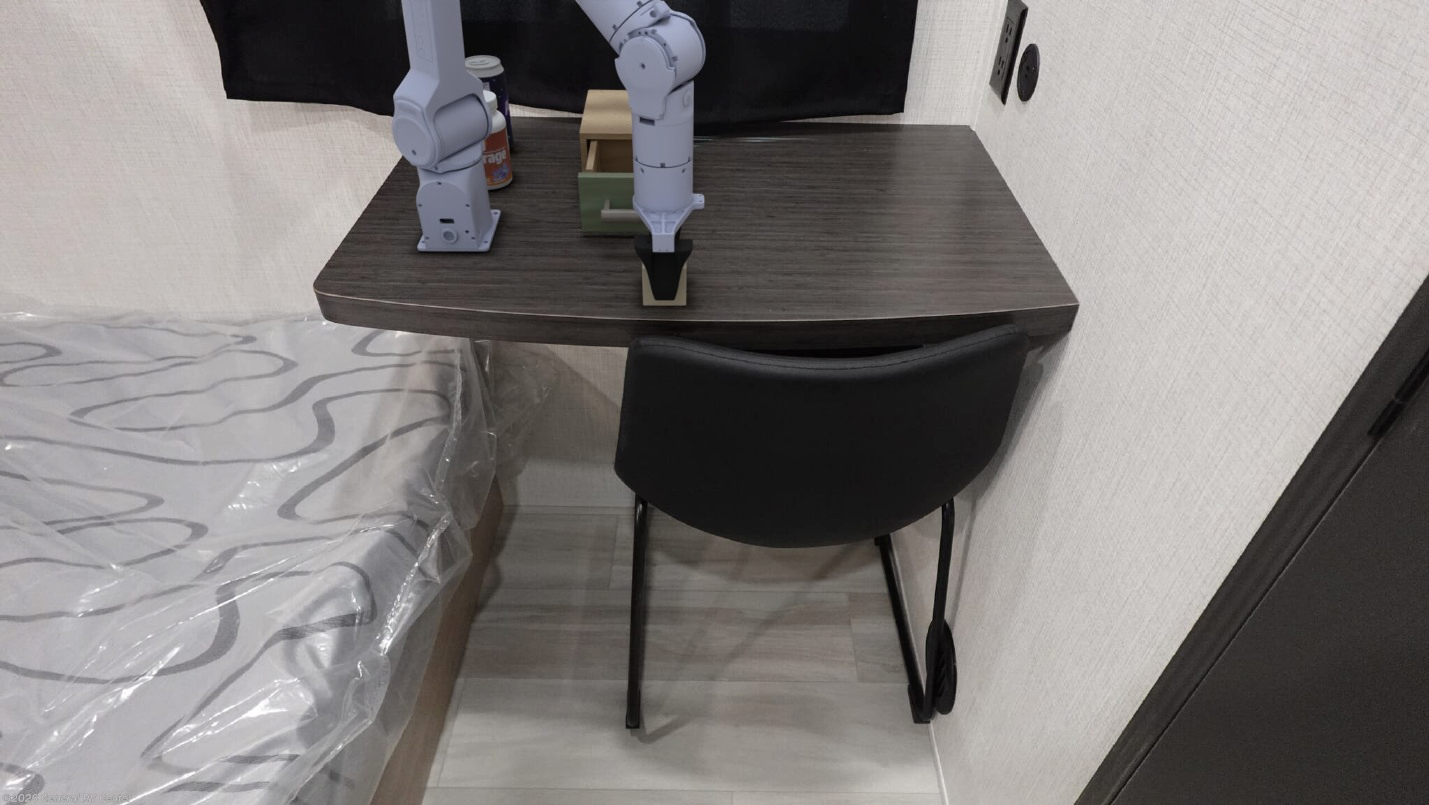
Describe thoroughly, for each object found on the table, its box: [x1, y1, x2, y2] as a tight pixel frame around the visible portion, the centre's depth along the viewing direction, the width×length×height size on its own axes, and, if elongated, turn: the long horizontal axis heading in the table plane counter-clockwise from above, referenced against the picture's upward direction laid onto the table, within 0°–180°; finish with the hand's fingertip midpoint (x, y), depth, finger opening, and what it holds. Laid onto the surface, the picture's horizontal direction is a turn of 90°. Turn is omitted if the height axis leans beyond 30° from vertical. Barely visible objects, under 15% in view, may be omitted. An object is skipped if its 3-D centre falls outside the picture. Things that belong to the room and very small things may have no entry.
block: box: [641, 261, 687, 306], centre depth 88 cm, size 4×4×4 cm
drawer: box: [577, 139, 649, 233], centre depth 99 cm, size 18×11×7 cm, turn 2°
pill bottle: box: [482, 90, 513, 191], centre depth 105 cm, size 6×6×11 cm
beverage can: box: [465, 54, 515, 150], centre depth 113 cm, size 6×6×12 cm
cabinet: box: [578, 89, 632, 173], centre depth 109 cm, size 15×13×9 cm
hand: (664, 278), depth 88 cm, fingers open, 7 cm apart
